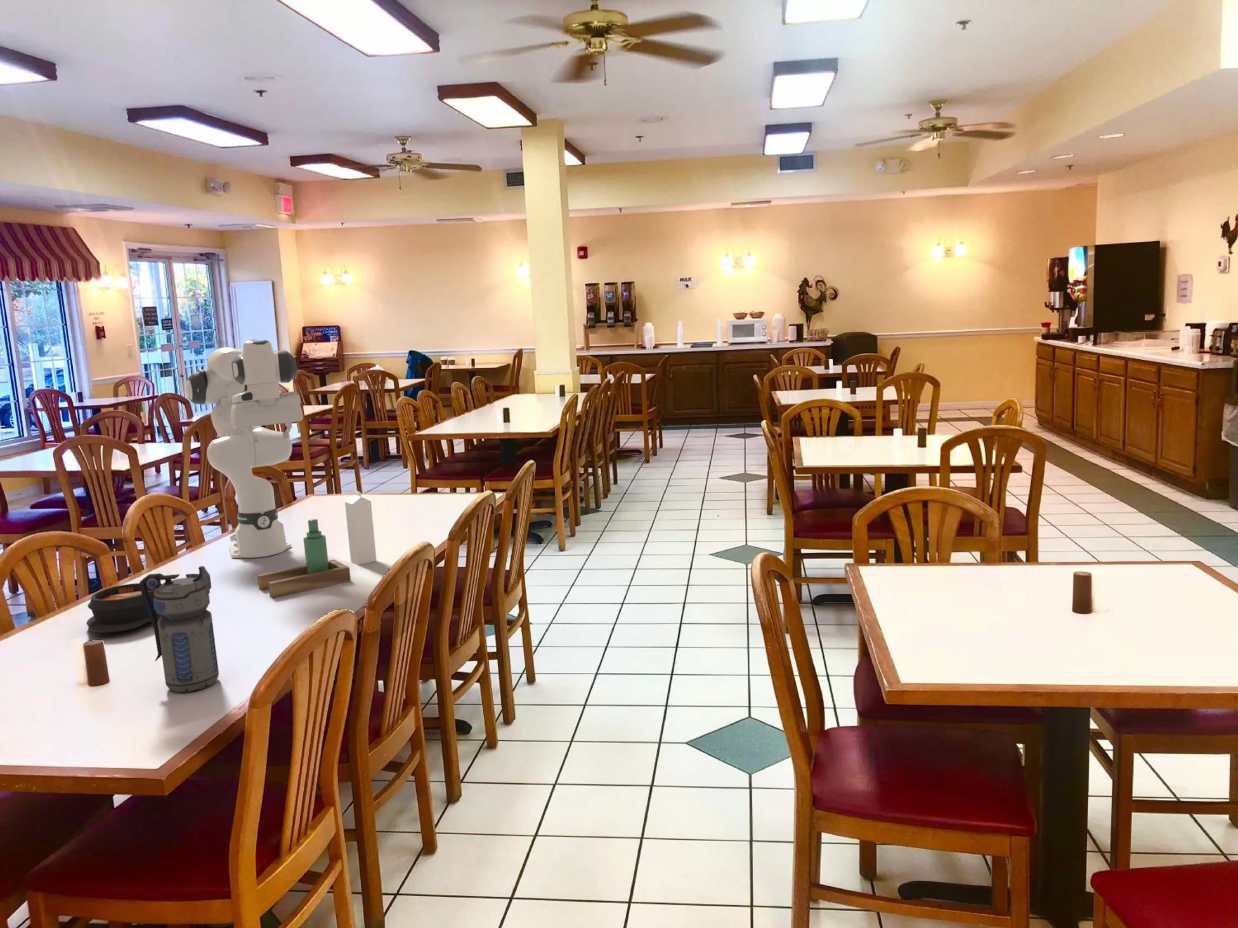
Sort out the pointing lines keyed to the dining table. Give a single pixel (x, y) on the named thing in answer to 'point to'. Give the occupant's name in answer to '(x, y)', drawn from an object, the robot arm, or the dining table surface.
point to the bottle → (315, 549)
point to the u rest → (302, 579)
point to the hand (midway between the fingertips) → (270, 440)
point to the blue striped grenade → (183, 628)
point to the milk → (360, 529)
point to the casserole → (118, 609)
